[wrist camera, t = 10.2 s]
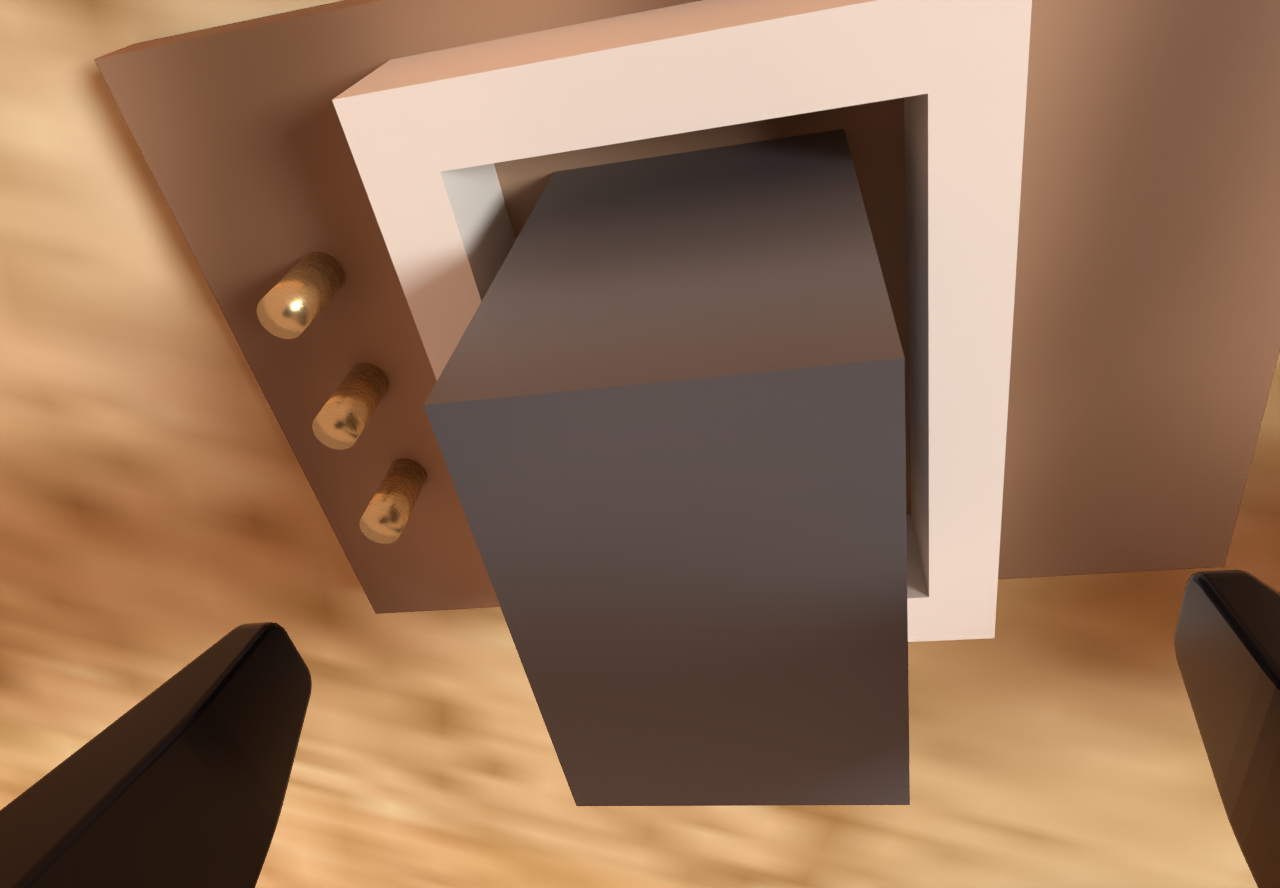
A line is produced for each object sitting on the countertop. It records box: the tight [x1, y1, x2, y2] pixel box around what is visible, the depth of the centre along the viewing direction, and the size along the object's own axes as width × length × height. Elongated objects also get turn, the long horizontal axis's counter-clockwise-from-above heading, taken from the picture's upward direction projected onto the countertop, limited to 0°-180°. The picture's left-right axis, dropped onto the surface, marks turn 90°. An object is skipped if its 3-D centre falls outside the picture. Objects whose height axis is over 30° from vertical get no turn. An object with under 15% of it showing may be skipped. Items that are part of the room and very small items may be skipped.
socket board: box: [94, 0, 1280, 642], centre depth 13 cm, size 16×11×3 cm
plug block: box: [424, 129, 910, 806], centre depth 11 cm, size 4×6×6 cm, turn 10°
